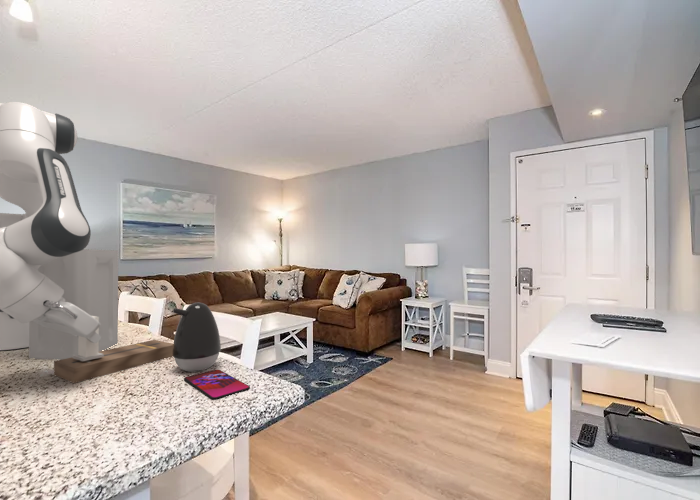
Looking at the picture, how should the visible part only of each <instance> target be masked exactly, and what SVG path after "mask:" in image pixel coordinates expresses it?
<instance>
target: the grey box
mask: <svg viewBox="0 0 700 500" xmlns="http://www.w3.org/2000/svg"><path fill="white" fill-rule="evenodd" d="M38 271H39V272H40V273H42V274H44V275H45V276H46V277H48V278H49V279H50V280H52V281H53V282H54V283H56V284H57V285H58V286H60V287H61V288H62V289H64V294H63V296H62V297H63V298H64V299H65V302H69V303H71V304H73V305H75V306H77V307H79V308H80V309H82V310H83V311H85V312H86V313H88V314H89V315H91V316H96V317H99V323H100V324H101V325H100V327H99V335H100V336H101V339H100V340H99V345H98V352H99V351H102V350H105V349H107V348H109V347H111V346H113V345H115V344H117V343H118V341H119V340H118V339H119V338H118V335H119V333H118V331H119V330H118V329H119V327H118V325H119V249H115V250H114V249H96V248H94V249H93V248H91V249H89V248H87V249H86V248H84V249H83V250H81V251H79V252H76V253H73V254H70V255H67V256H63V257H61V258H59V259H56V260H54V261H52V262H50V263H47V264H44V265H42V266H40V267H39V268H38ZM118 344H119V343H118ZM107 350H108V349H107ZM77 354H78V338H77V337H76V336H74V335H72V334H69V333H65V332H61V331H57V330H53V329H49V328H46V327H43V326H41V325H39V324H37V323H35V322H33V321H30V322H29V347H28V358H29V359H30V358H35V360H52V359H58V360H62V359H67V358H71V357H73V355H77Z"/></svg>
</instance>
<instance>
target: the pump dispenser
mask: <svg viewBox="0 0 700 500" xmlns="http://www.w3.org/2000/svg"><path fill="white" fill-rule="evenodd" d="M172 313H174V314H176V315H178V316H181V317H180V320H179V322H178V325H177V327H176V329H175V334H174V338H173V343H172V344H173V357H172V358H174V362H175V364H176V365H177V368H179V369H181V370H183V371H185V372H189V373H191V372H193V373H196V372H200V371H205V370H207V369H209V368H211V367H212V366H213V365H214V364H215V363H216V362H217V360H218V358H219V354H220V352H221V350H222V346H221V345H222V343H221V337H220V332H219V328H218V324H217V321H216V319H215V317H214V314H213V312H212V310H211V308H209V306H208V304H205V303H203V302H194V303H191V304H189V305H188V306H187V307H186V308H185V309H181V308H175V307H174V308H173V309H172Z"/></svg>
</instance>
